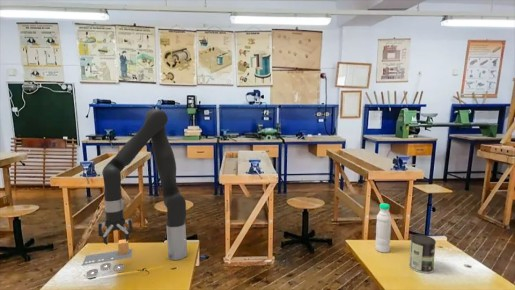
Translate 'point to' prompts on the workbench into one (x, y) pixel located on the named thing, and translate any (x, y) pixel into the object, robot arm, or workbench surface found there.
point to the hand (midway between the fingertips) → (116, 242)
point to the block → (123, 247)
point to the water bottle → (383, 229)
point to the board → (105, 257)
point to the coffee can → (422, 253)
